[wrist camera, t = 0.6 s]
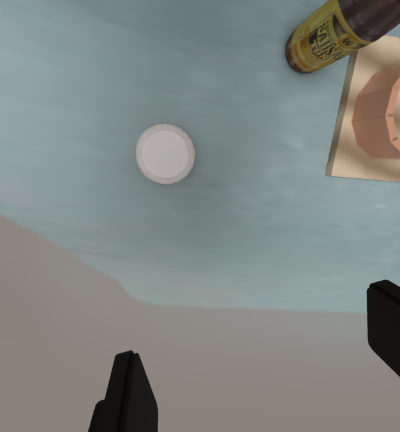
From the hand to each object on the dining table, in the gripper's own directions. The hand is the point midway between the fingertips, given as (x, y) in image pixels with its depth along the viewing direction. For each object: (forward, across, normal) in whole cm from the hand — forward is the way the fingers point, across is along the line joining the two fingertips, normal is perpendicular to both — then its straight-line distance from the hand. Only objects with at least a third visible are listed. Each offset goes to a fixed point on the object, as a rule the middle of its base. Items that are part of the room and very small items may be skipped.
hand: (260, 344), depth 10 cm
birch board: (+30, -33, -6) cm, 45 cm away
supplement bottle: (+30, +2, -7) cm, 31 cm away
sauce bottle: (+31, -21, -17) cm, 41 cm away
